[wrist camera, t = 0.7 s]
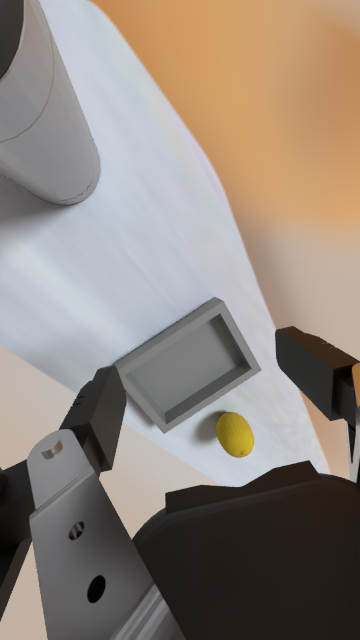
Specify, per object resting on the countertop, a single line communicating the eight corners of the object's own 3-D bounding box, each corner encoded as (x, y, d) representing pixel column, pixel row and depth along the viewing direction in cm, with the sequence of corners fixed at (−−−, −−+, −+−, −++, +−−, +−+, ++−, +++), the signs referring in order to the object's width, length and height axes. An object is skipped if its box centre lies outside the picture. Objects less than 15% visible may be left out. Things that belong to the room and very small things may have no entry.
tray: (114, 362, 32) (111, 374, 29) (215, 296, 32) (223, 301, 29) (161, 418, 36) (163, 433, 33) (250, 360, 36) (261, 370, 33)
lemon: (209, 406, 37) (226, 443, 30) (239, 400, 38) (263, 435, 30) (210, 431, 39) (227, 473, 31) (239, 425, 39) (262, 464, 32)
